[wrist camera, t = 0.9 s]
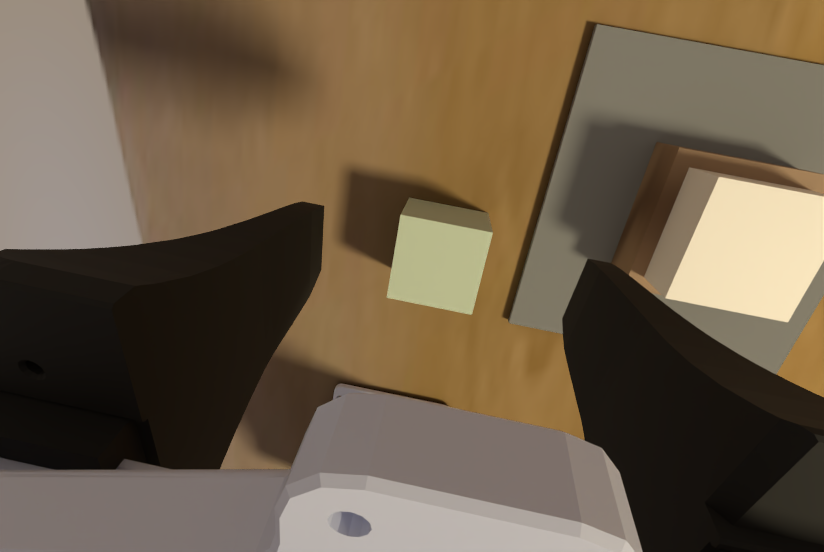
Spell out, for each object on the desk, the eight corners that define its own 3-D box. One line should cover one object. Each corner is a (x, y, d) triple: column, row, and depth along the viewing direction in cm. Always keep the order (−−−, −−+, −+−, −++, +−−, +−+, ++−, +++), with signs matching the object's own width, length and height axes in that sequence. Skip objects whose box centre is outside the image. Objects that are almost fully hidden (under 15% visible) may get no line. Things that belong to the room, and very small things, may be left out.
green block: (470, 284, 27) (471, 314, 23) (396, 269, 27) (386, 297, 23) (488, 212, 25) (492, 232, 21) (409, 197, 25) (400, 214, 21)
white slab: (753, 298, 22) (788, 322, 20) (644, 277, 22) (665, 298, 20) (811, 190, 20) (857, 203, 18) (689, 167, 20) (718, 176, 18)
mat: (770, 372, 27) (774, 376, 26) (508, 319, 27) (508, 323, 27) (939, 87, 20) (947, 87, 20) (594, 25, 21) (597, 23, 20)
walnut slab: (733, 294, 25) (761, 314, 22) (608, 269, 25) (623, 287, 22) (797, 168, 22) (837, 177, 20) (656, 141, 22) (679, 147, 20)
